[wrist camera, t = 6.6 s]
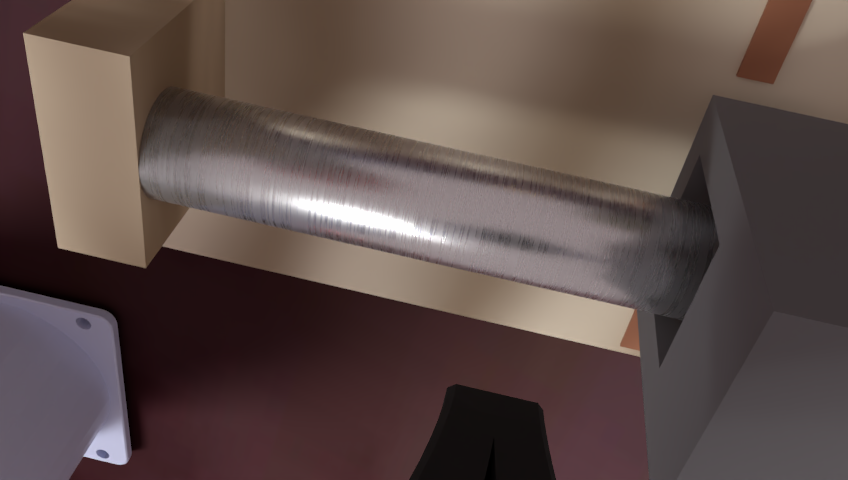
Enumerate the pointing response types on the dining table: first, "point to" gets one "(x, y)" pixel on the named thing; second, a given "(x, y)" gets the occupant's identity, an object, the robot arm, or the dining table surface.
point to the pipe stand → (416, 113)
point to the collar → (757, 307)
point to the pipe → (427, 201)
